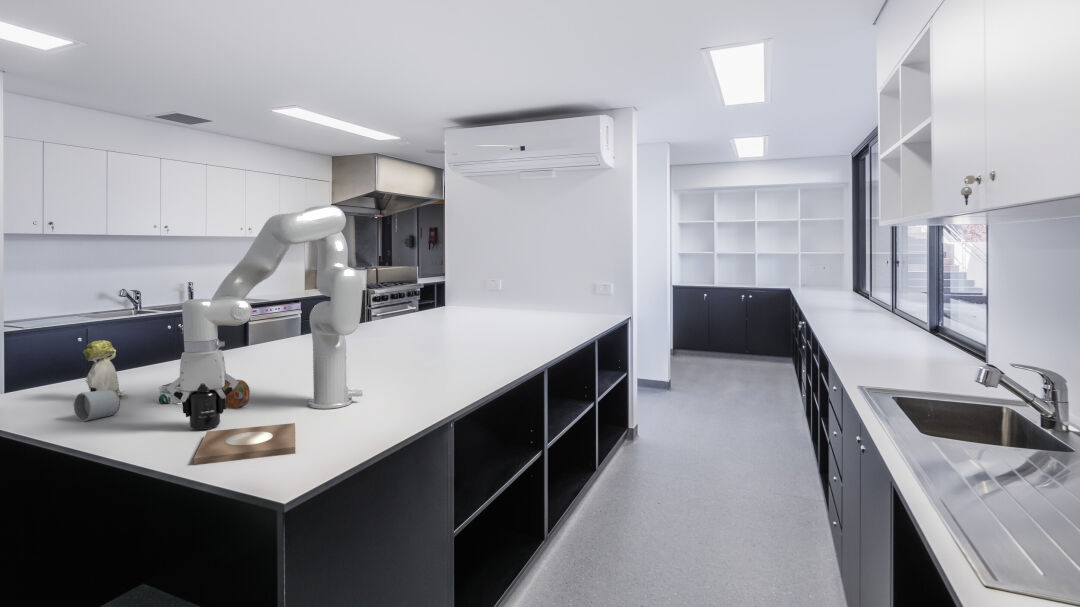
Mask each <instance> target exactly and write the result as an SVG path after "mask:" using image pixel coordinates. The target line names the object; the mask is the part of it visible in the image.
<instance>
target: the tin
mask: <svg viewBox="0 0 1080 607" xmlns="http://www.w3.org/2000/svg"><path fill="white" fill-rule="evenodd" d="M235 379H236V378H235ZM236 380H237V381H238V384H237V385H236V387H235V388H234V389H233V390H232V391H231V392H230V393H229V394H228V395H227V396H226V408H227V407H229V408H228V409H238V408H242V407H245V406H246V405H248V403H249V401H250V395H251V393H250V391H251V390H250V387H249V385H248V383H247V382H246V381H245V380H243V379H236ZM230 385H231V383H230V382H228V381H227V380H226V384H225V385H224V387H223V388H224V390H226V389H227V388H228V387H229V386H230ZM219 398H220V396H219Z"/></svg>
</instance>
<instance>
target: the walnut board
mask: <svg viewBox="0 0 1080 607" xmlns="http://www.w3.org/2000/svg"><path fill="white" fill-rule="evenodd" d="M292 454H296V423H295V422H293V423H292V422H291V423H282V424H281V423H280V424H270V425H262V426H252V427H251V426H250V427H240V428H229V429H228V428H227V429H221V430H220V429H218V430H209V431H206V433H205V435H204V437H203V439H202V441H201V442H200V445H199V447H198V449H197V451H196V453H195V455H194V457H193V465H194V466H196V465H204V464H206V465H207V464H214V463H222V462H223V463H224V462H231V461H232V462H233V461H239V460H240V461H241V460H248V459H257V458H264V457H274V456H282V455H292Z"/></svg>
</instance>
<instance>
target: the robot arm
mask: <svg viewBox="0 0 1080 607" xmlns="http://www.w3.org/2000/svg"><path fill="white" fill-rule="evenodd" d="M346 223H347V218H346V215H345V213H344V211H343V210H342V209H341V208H340V207H338V206H335V205H333V204H332V205H331V204H330V205H329V204H328V205H327V204H326V205H325V204H324V205H317V206H310V207H308V208H305V209H304V210H302V211H298V212H296V211H295V212H290V213H281V214H276V215H275V214H274V215H272V216H271V217H269V218H268V219H267V220H266V222H265V223H264V225H263V226H262V228H261V229H260V231H259V233H258V234H257V236H256V238H255V239H254V241H253V243H251V246H250V247H249V249H248V251H247V252H246V253H245V254H244V256H243V258H242V259H241V260H240V261H239V262H238V263H237V264H236V265H235V267H234V268H233V269H232V270H231V271H230V272H229V273H228V274H227V275H226V277H225V278H224V279H223V280H222V282H221V283H220V285H219V286H218V288H217V290H216V291H215V292H214V294H213V295H212V298H211V299H210V298H195V299H194V298H193V299H187V300H185V301H183V303H182V306H181V308H182V309H181V311H182V330H183V346H184V348H183V349H184V352H182V353H181V357H180V361H179V362H180V364H179V377H177V379H175V380H174V381H172V382H171V383H172V384H170V385H169V386H168V387H167V390H168V391H169V392H171V393H172V394H173V395H174V396H175V397H177V398H178V399H179V400H181V402H182V404H181V405H182V413H183V414H185V418H190V412H189V398H188V396H189V395H190V393H191V392H193V391H198V390H197V388H199V387H200V384H202V383H203V384H205V385H206V386H207V388H209V389H206V390H216V391H217V393H218V394H219V396H220V398H219V400H218V401H219V413H220V415H222V414H223V412H224V410H226V409H227V407H226V396H227V395H228V394H229V393H230V392H231V391H232V390H233V389H234V388H235V387H236V385H237V384H238V381H237V380H238V379H237V380H236V378H234V377H232V375H230V374H228V373H227V371H226V363H225V362H226V361H225V356H224V353H223V350H222V349H220V348H222V347H225V346H226V345H225V340H223V341H222V340H220V339H219V338H218V335H219V334H218V332H219V330H218V326H230V327H231V326H233V327H235V326H241V325H244V324H245V323H247V322H248V321H249V320H250V319H251V317H252V315H253V307H252V306H251V304H250V303H249V302H248V301H247V300H246V297H247V296H248V295H249V294H250V292H251V291H252V290H253V289H254V288H255V287H256V286H257V285H259V284H260V283H262V282H263V281H265V280H267V279H269V278H270V277H271V276H272V275H274V274H275V273H276V271H277V269H278V267H279V266H280V264H281V262H282V261H283V259H284V257H285V255H286V254H287V252H288V251H289V249H290V248H291V245H299V244H300V245H301V244H304V243H305V244H306V243H309V242H312V241H315V244H316V247H317V266H316V268H317V269H316V270H317V271H316V283H315V284H316V289H317V291H318V292H319V293H320V294H321V295H323V296H326V297H330V300H328V301H327V300H325V301H320V302H319V303H316V304H315V305H314V307H312V309H311V311H310V313H309V327H310V332H311V338H312V368H313V369H312V370H313V371H312V374H313V375H312V376H313V378H312V379H313V380H312V381H313V382H312V383H313V398H311V399H309V400H308V404H307V405H308V407H310V408H313V409H319V410H321V409H324V410H326V409H327V410H329V409H337V408H342V407H347V406H348V405H350V404H352V403H353V399H352V397H357V398H358V397H363V390H362V389H349V388H348V386H347V383H348V382H347V343H346V337H345V336H349V335H352V334H353V333H354V332H355V331H356V330H357V328H358V327H359V325H360V321H361V315H362V305H363V304H362V302H363V291H364V290H363V287H364V286H363V280H362V277H361V275H360V273H359V272H358V270H356V269H354V268H353V267H350V266H349V265H348V262H349V256H348V254H349V250H348V249H349V248H348V243H347V241H346V237H345V236H344V234H343V232H342V231H343V230H344V229H345V227H346ZM226 380H227V381H228V382H230V383H231V385H230V386H229V387H228V388H227V389H226V390H224V388H223V387H224V385H225V384H226ZM178 384H180V389H181V390H182V391H185V392H184V394H183V393H181V392H180V391H178V390H177V389H176V386H177V385H178Z"/></svg>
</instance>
